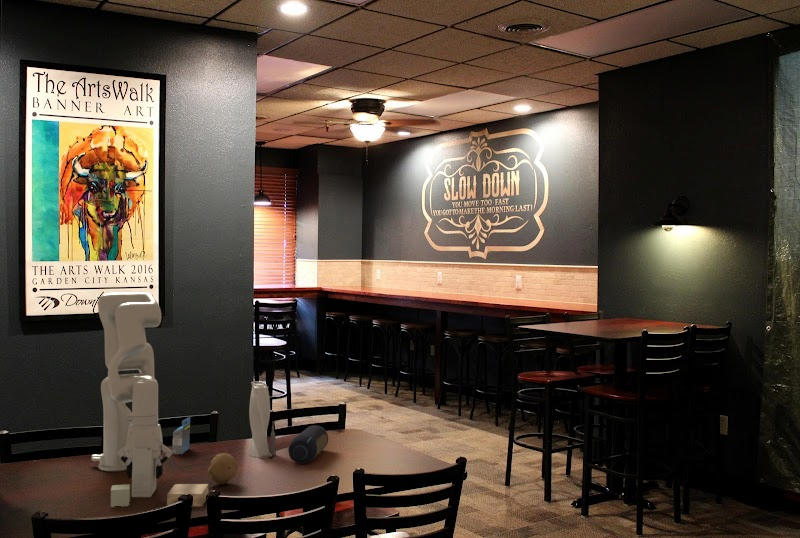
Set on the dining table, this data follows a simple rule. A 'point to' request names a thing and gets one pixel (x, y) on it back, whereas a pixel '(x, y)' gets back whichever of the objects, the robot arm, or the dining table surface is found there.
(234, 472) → the tan rounded lump
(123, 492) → the sage block
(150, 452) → the skincare box
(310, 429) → the portable speaker
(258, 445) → the skyscraper
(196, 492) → the maple slab
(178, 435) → the label tape box
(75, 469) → the dining table surface
